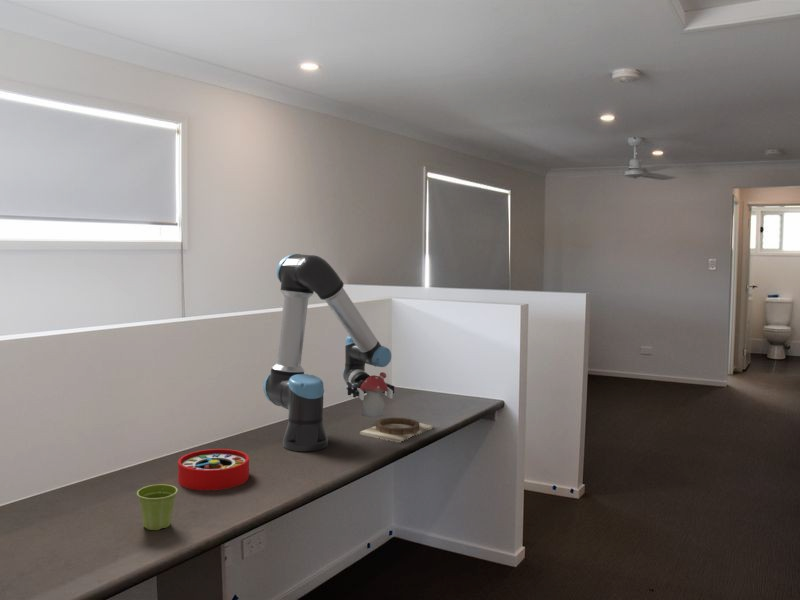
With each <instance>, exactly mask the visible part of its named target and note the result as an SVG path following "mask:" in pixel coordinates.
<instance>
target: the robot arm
mask: <svg viewBox="0 0 800 600" xmlns="http://www.w3.org/2000/svg"><path fill="white" fill-rule="evenodd" d="M276 277H277V279H278V280H279V282H280V292H281V293H282V295H283V305H282V309H281V310H282V312H281V318H280V319H281V321H280V330H279V336H278V337H279V338H278V345H277V346H278V347H277V354H276V362H275V364H274V365H272V366H271V369H270V373H268V375H267V376H266V378H264V382H263V388H262V389H263V393H264V396H265V398H266V399H267V400H268V401H269V402H270V403H272V404H273V405H275V406H278V407H281V408H284V409H286V410H288V421H287V422H288V423H287V427H286V429H285V432H284V435H283V437H282V447H283V448H284V449H287V450H290V451H294V452H314V451H315V452H316V451H319V450H323V449H326V448H327V447H328V445H329V443H328V441H329V439H328V435H327V432H326V429H325V426H324V425H325V424H324V393H325V389H324V382H323V379H321V378H320V377H318V376H316V375H314V374H307V373H305V369H304V368H303V367H302V365H301V364H302V357H303V356H302V355H303V349H304V340H305V329H306V322H307V313H308V305H309V299H310V298H311V297H312V296H313V295H314V293H315V294H316V295H317V296H318V298H319V299H320V300H323V301H325V302H326V304H327V306H328V307H329V308H330V310H331V311H332V312H333V314H334V316H335V318H336V319H337V320H338V321H339V323H340V324H341V325H342V327H343V329H344V330H345V331H346V333H347V334H348V335H347V336H346V338H345V345H344V347H345V352H344V353H345V357H344V358H345V361H344V362H345V364H344V368H343V371H342V378H343V380H344V381H345V383H346V390H347V395H348V396H351V395H352V398H357V397H358V398H359V399H360V400H361V401H363V400H364V398H365V394H367V392H365V391H362V390H361V389H360V387H361V384H362V383H363V382H364V381H365V380H366V379H367V378H368V377H370V376H371V375H369V373H367V371H366V369H365V368H366V365H370V366H374V367H378V368H385V367H387V366H388V365H389V364H390V363H391V360H392V352H391V350H390V349H389V348H388V347H386V346H384V345H382V344H381V343H380V342H379V340H378V338H377V337H376V336H375V334H374V332H373V331H372V330H371V328H370V327H369V325H368V324H367V322H366V321H365V319H364V317H363V316H362V314H361V313H360V312H359V309H358V308H357V307H356V305H355V304H354V303H353V302H354V301H352V299H351V298H350V297H349V294H348V293H347V292H346V290H345V289H344V282H343V280H342V279H341V277H340V276H339V275H338V273H337V272H336V270H335V269H334V267H332V265H330V263H328V261H327V260H325V259H324V258H322V257H320V256H319V255H318V256H317V255H315V254H311V255H309V254H300V253H294V254H293V253H292V254H289V255H286V256H285V257H283V258H282V259H281V260H280V261H279V264H278V265H277V268H276ZM385 383H386V385H387V388H388V390H387V391H386V392H382V393H381V394H384V395H385V396H387V398H389V399H390V400H391V399H392V400H393V399H394V397H393V394H395V386H394V385H392V384H390V383H387V382H385Z"/></svg>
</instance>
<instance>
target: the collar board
mask: <svg viewBox="0 0 800 600" xmlns="http://www.w3.org/2000/svg"><path fill="white" fill-rule="evenodd" d="M432 428H433V429H434V425H433V424H428V423H422V422H419V421H417V420H416V419H413V418H406V417H385V418H381V419H377V420H376V421H375V425H374V426H372V427H369V428H366V429H363V430H361V431H359V435H361V436H365V437H369V438H376V439H379V438H380V440H384V439H385V440H384V441H388V440H390V441H389V442H393V441H395V442H394V443H398V442H400V443H402V442H401V441H403V442H404V440H405V441H407V440H409V439H408V438H410V437H412V436H414V435H416V436H418V435H417V434H419V435H421V434H423V433H425V431H426V432H428V431H430V430H432ZM427 430H428V431H427ZM422 432H423V433H422ZM420 433H421V434H420ZM414 437H415V436H414ZM412 438H413V437H412ZM406 439H407V440H406ZM410 439H411V438H410Z"/></svg>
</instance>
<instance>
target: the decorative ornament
mask: <svg viewBox="0 0 800 600" xmlns="http://www.w3.org/2000/svg"><path fill="white" fill-rule="evenodd" d="M386 378H387V374H386V373H385V372H380V373H379V375H370V377H368V378H367V379H366V380H365V381H364V382H363V383H362V384H361V387H360V389H361V390H362V391H365V392H367V393H366V395H365V396H364V400H362V403H361V409H362V413H361V415H362V416H363V417H366V418H380V417H383V414H384V412H385V407H386V404H385V400H384V397H383V396H382V394H383V393H382V392H386V391H387V390H388V388H387V385H386V383H387V382H386V381H385V379H386Z"/></svg>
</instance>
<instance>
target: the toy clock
mask: <svg viewBox="0 0 800 600" xmlns="http://www.w3.org/2000/svg"><path fill="white" fill-rule="evenodd" d="M249 477H250V456H249V455H248V454H247V453H245V452H244V451H239V450H235V449H228V448H215V449H214V448H211V449H202V450H197V451H192V452H189V453H187V454H184V455H182V456H181V457H180V458H178V460H177V481H178V484H179V485H180V486H182V487H184V488H186V489H191V490H194V489H195V491H219V490H220V489H221V490H226V489H225V488H227V489H231V488H234V486H235V487H238V486H240V485H242V484H244V483H245V482H247V481H248V479H249Z"/></svg>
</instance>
